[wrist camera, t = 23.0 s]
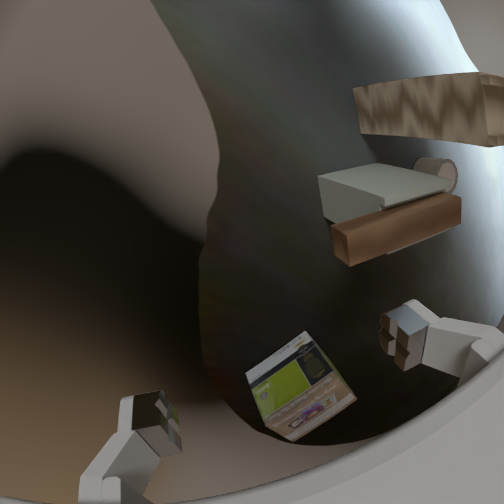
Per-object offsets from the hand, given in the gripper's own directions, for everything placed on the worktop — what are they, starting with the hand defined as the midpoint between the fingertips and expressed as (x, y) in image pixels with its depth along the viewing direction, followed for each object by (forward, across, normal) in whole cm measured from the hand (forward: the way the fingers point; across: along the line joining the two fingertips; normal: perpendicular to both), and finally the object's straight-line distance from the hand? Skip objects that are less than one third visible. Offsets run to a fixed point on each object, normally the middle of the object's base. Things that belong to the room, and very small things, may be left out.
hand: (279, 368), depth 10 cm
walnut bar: (+21, -21, +6) cm, 30 cm away
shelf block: (+37, -34, -7) cm, 51 cm away
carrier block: (+37, -24, +6) cm, 45 cm away
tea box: (+37, -7, +38) cm, 54 cm away
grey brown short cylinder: (+37, -42, +6) cm, 56 cm away
